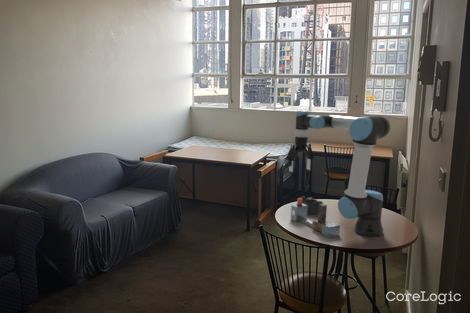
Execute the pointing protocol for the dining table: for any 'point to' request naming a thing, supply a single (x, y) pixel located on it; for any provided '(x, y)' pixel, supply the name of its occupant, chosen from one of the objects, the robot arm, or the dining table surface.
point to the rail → (301, 215)
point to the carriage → (320, 218)
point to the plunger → (299, 202)
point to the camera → (311, 205)
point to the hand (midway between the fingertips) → (299, 170)
